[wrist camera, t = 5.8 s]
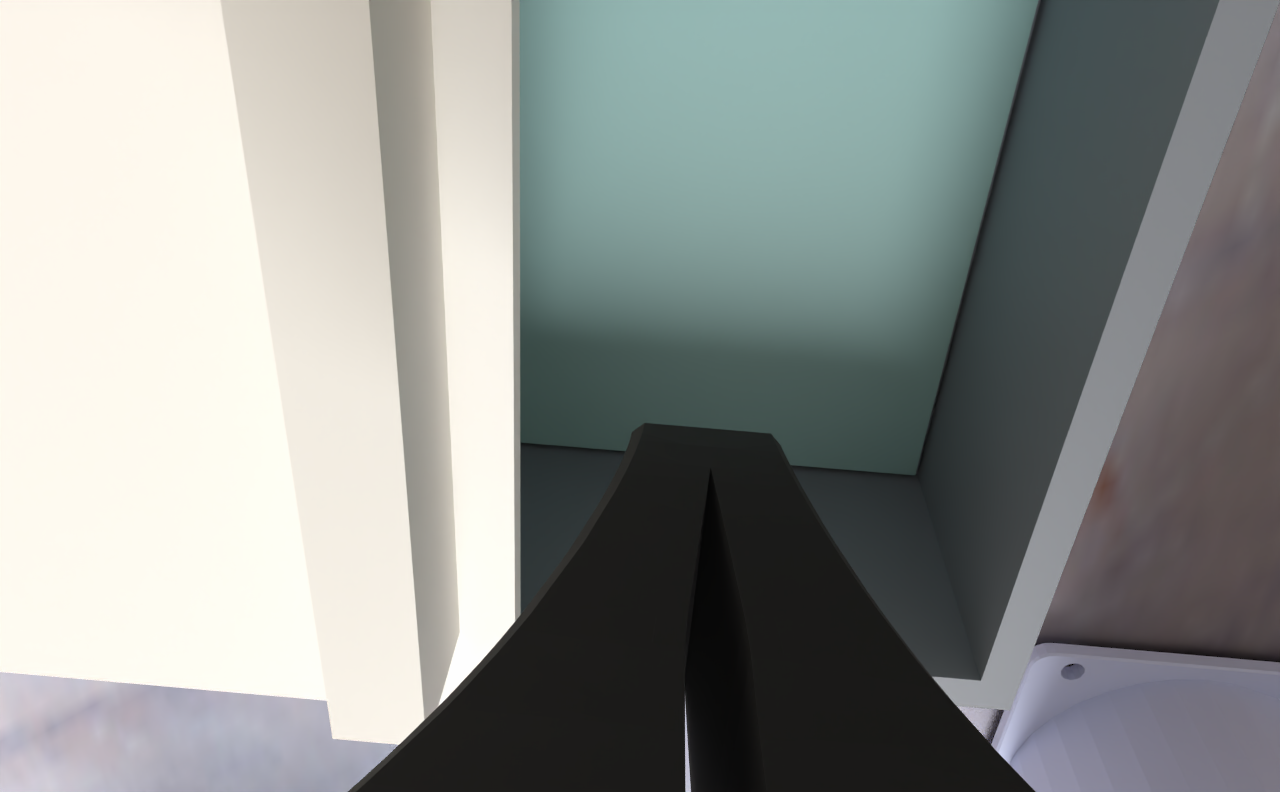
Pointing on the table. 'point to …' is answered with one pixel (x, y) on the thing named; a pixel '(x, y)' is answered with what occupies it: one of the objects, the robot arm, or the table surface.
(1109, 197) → the mailer box
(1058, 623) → the table surface
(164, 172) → the lid
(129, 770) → the table surface
